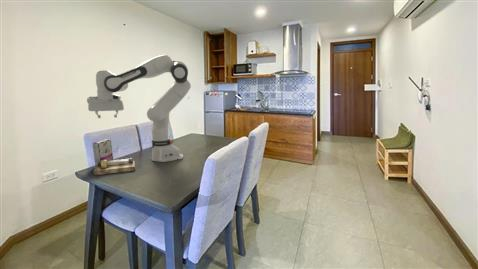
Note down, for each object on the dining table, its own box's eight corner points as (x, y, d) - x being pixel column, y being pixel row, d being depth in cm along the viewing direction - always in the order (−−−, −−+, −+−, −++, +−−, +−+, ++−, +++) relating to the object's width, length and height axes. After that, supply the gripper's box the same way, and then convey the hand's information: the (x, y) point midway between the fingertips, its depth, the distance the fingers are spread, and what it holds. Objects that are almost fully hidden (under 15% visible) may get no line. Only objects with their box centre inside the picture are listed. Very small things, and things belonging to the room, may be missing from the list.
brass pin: (108, 170, 146) (107, 160, 144) (105, 172, 143) (104, 161, 141) (104, 170, 146) (102, 159, 145) (100, 172, 143) (99, 161, 142)
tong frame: (133, 161, 156) (132, 157, 156) (133, 163, 153) (132, 158, 153) (98, 165, 148) (98, 160, 148) (98, 166, 145) (97, 162, 145)
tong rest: (134, 164, 159) (134, 160, 158) (135, 170, 147) (134, 166, 147) (97, 168, 150) (96, 164, 150) (94, 175, 138) (93, 171, 138)
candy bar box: (107, 161, 163) (104, 138, 159) (113, 162, 162) (111, 139, 158) (94, 167, 152) (91, 142, 149) (101, 167, 151) (98, 143, 148)
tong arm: (128, 162, 153) (128, 159, 153) (128, 163, 151) (128, 160, 151) (98, 165, 146) (98, 162, 146) (98, 166, 144) (97, 163, 144)
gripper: (85, 96, 145) (88, 119, 148) (122, 96, 153) (124, 117, 156) (87, 96, 151) (89, 117, 153) (122, 96, 159) (124, 116, 162)
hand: (107, 117), depth 155 cm, fingers open, 8 cm apart
